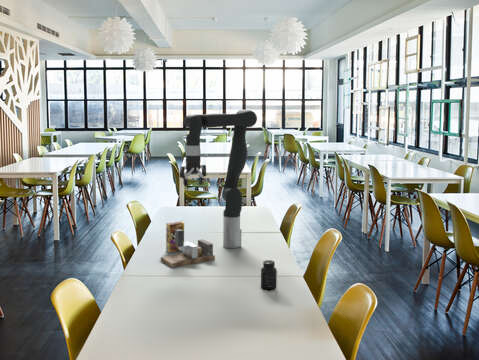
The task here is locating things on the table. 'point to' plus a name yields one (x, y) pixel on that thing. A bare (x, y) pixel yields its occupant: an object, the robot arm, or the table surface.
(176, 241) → the jaw
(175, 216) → the table surface
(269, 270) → the supplement bottle
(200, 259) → the board
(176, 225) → the candy box
